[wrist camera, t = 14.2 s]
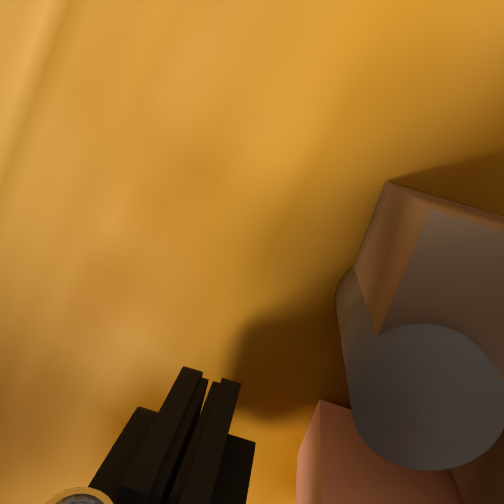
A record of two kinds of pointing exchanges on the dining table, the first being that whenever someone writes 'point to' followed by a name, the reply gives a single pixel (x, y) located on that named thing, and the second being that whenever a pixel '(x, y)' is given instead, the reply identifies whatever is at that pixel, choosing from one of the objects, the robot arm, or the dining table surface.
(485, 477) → the tongs jaw
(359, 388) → the tongs fixed jaw
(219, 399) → the robot arm
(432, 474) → the tab
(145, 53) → the dining table surface
